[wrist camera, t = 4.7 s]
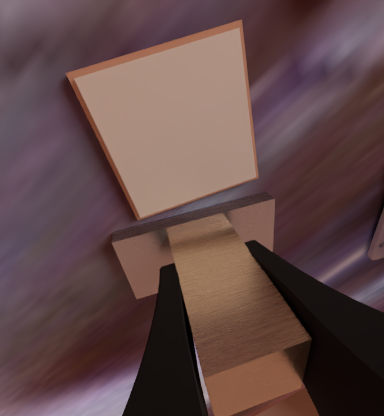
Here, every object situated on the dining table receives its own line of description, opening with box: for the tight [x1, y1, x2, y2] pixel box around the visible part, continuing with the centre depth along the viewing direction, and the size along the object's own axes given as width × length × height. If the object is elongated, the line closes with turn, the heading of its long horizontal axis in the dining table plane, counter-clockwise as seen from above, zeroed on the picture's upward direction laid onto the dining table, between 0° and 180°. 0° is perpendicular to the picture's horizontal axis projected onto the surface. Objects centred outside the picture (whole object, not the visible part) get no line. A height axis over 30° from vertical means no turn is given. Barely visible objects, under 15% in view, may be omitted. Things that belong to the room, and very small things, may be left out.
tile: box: [66, 20, 259, 220], centre depth 9 cm, size 6×6×1 cm
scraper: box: [112, 192, 312, 416], centre depth 9 cm, size 4×8×7 cm, turn 100°
